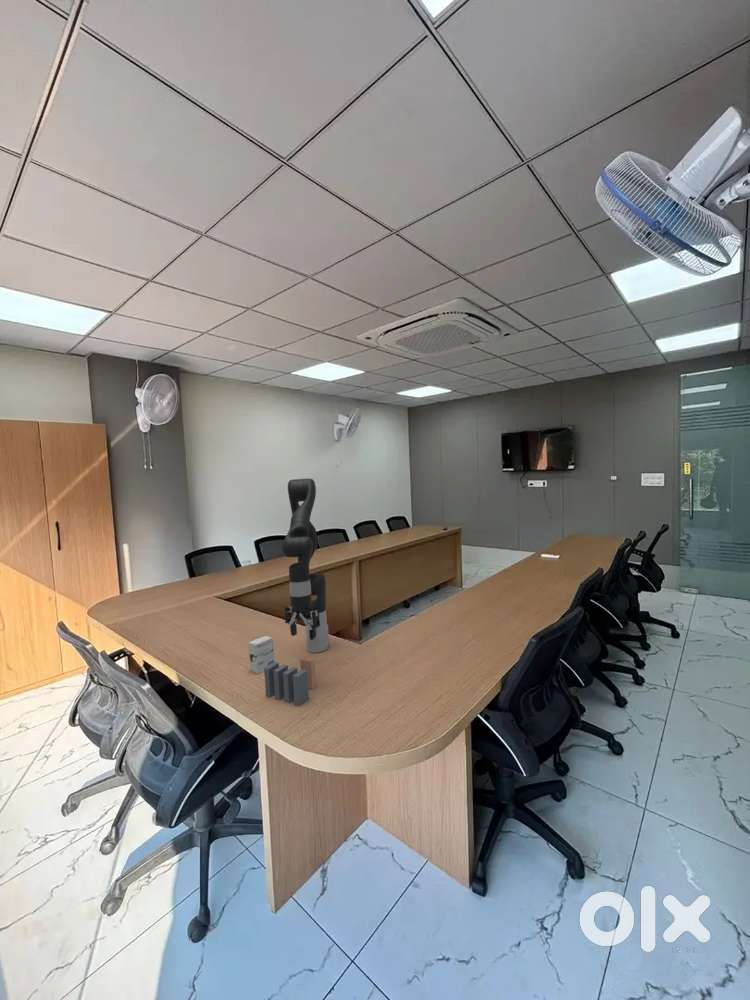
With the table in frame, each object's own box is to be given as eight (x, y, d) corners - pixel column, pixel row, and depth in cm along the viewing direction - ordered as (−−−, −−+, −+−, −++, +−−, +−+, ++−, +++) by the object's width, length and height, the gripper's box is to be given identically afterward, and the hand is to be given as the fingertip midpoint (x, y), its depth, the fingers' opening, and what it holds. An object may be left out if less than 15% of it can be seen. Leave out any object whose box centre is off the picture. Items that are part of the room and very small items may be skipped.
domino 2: (275, 698, 140) (273, 670, 140) (285, 691, 145) (283, 664, 144) (279, 700, 139) (277, 671, 139) (289, 693, 144) (287, 665, 143)
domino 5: (294, 704, 136) (292, 675, 135) (304, 697, 140) (302, 669, 140) (299, 706, 135) (297, 677, 134) (308, 698, 139) (307, 670, 139)
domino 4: (305, 683, 150) (303, 657, 149) (316, 686, 147) (314, 659, 146) (301, 686, 148) (300, 659, 147) (312, 689, 145) (311, 662, 145)
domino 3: (284, 701, 138) (282, 673, 137) (294, 694, 142) (292, 666, 142) (289, 703, 137) (287, 674, 136) (298, 695, 141) (297, 667, 141)
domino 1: (266, 695, 142) (264, 668, 142) (276, 689, 147) (274, 662, 146) (270, 697, 141) (268, 669, 141) (280, 690, 146) (278, 663, 145)
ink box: (267, 662, 168) (265, 634, 167) (275, 665, 165) (273, 637, 164) (249, 671, 161) (247, 642, 161) (256, 674, 158) (255, 645, 157)
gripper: (322, 591, 145) (325, 636, 146) (292, 587, 152) (295, 630, 153) (309, 598, 138) (311, 644, 139) (278, 593, 146) (281, 637, 147)
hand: (303, 637), depth 146 cm, fingers open, 8 cm apart
